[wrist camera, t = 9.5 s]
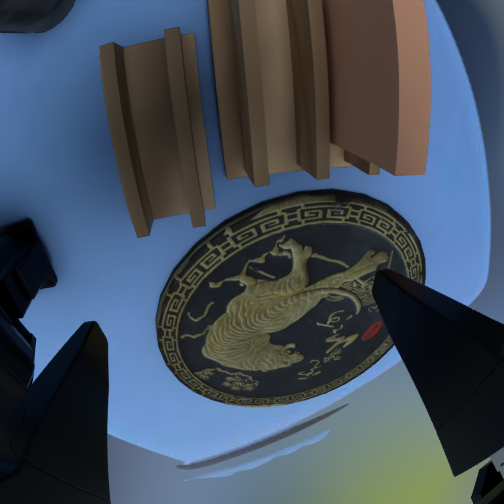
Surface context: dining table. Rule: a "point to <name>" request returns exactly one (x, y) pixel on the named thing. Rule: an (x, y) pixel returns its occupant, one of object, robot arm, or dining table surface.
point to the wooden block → (379, 81)
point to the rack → (274, 89)
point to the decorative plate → (284, 298)
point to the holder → (158, 128)
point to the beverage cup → (32, 15)
